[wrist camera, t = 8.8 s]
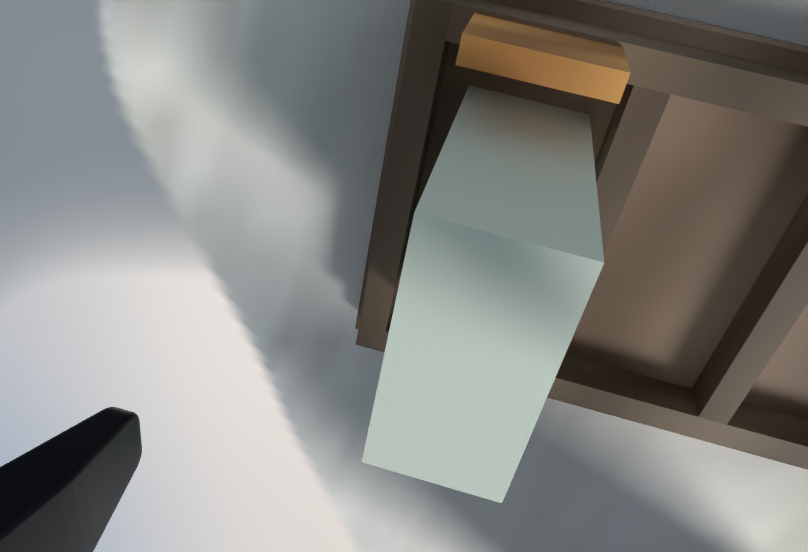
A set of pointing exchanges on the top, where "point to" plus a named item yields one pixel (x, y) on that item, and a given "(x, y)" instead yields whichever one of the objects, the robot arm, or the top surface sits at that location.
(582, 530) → the top surface
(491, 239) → the block
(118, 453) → the robot arm
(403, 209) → the rack
